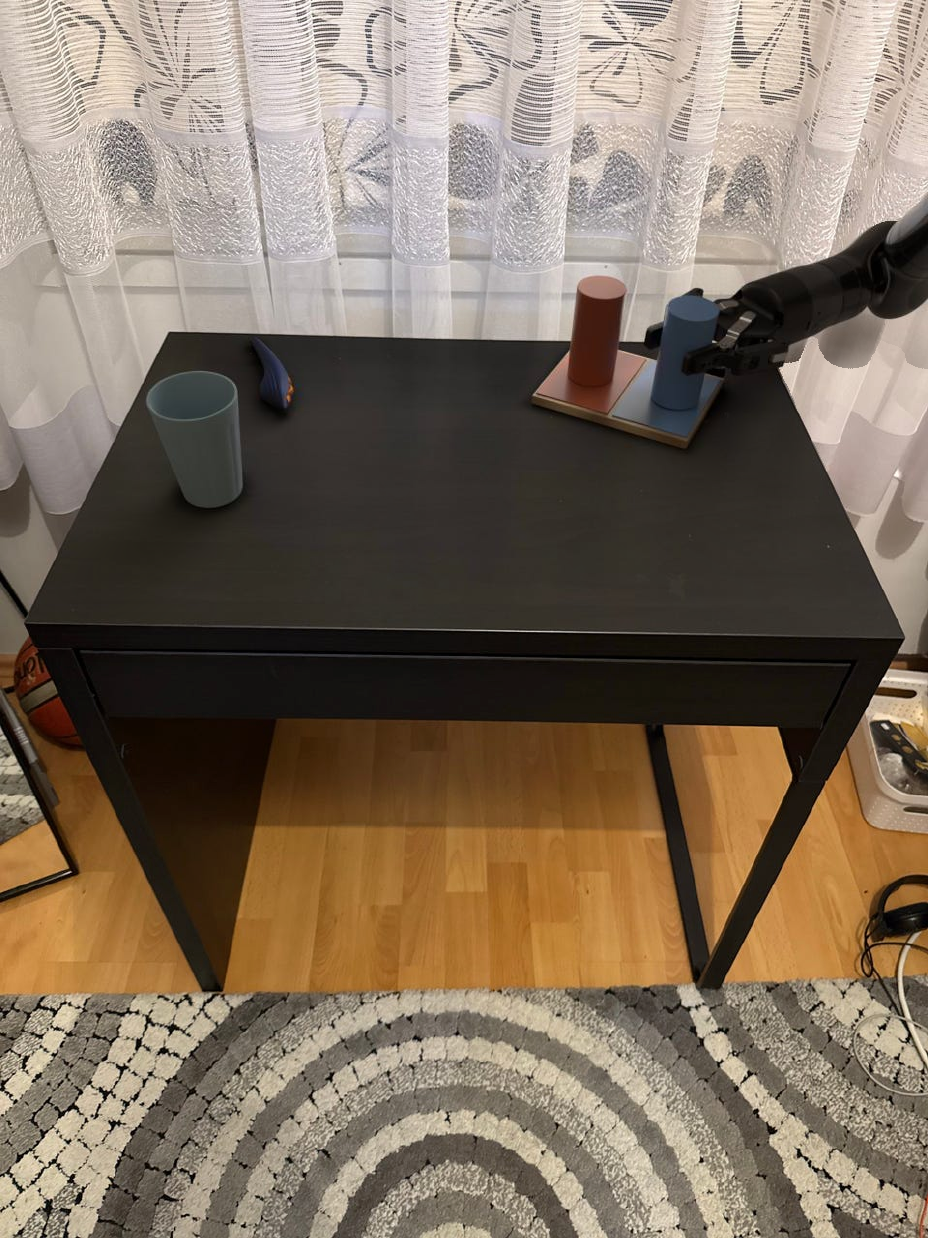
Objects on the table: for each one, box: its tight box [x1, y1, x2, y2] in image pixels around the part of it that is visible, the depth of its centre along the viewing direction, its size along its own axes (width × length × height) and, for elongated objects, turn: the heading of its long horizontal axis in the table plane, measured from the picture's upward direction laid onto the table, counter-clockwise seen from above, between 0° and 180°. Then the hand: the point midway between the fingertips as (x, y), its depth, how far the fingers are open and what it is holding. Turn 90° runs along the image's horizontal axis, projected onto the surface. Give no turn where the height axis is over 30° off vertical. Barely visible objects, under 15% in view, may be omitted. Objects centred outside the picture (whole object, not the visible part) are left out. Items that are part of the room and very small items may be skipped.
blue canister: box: [651, 295, 719, 410], centre depth 94 cm, size 5×5×10 cm
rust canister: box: [567, 275, 628, 387], centre depth 97 cm, size 5×5×10 cm
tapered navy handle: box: [250, 336, 294, 411], centre depth 100 cm, size 16×4×2 cm, turn 20°
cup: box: [145, 370, 244, 509], centre depth 84 cm, size 8×8×10 cm
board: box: [531, 349, 725, 450], centre depth 100 cm, size 17×13×1 cm
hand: (666, 352), depth 92 cm, fingers closed on blue canister, 5 cm apart
